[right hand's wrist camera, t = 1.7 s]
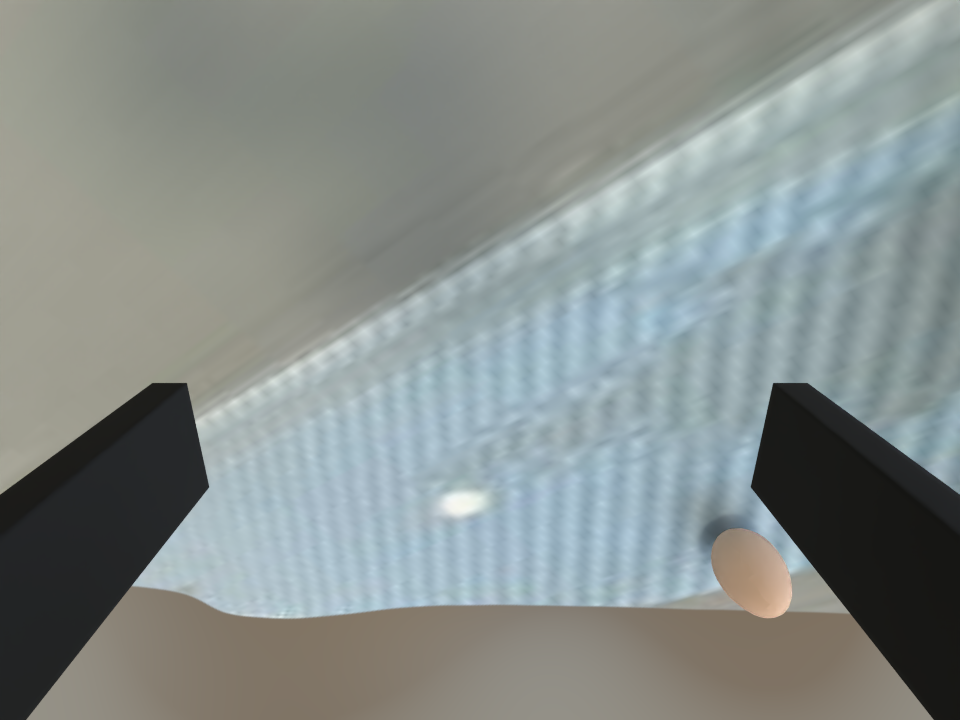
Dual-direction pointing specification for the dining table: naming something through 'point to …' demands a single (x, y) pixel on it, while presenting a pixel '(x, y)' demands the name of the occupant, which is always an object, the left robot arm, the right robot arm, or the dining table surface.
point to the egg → (752, 572)
